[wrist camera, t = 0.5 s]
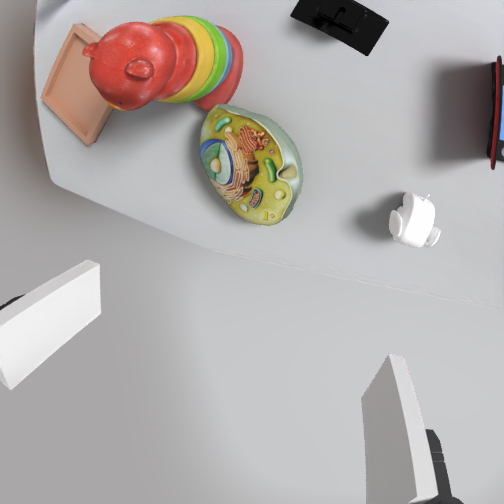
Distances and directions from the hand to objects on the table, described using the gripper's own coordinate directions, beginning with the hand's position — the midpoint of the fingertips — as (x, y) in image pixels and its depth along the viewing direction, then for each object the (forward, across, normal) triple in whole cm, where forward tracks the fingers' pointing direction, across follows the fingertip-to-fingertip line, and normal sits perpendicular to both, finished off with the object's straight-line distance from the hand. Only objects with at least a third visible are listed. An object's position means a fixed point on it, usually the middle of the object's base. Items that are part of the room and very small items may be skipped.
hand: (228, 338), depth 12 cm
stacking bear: (+23, -13, +16) cm, 31 cm away
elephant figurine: (+27, +15, +5) cm, 31 cm away
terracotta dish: (+23, -32, +14) cm, 42 cm away
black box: (+22, +1, +24) cm, 33 cm away
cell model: (+27, -6, +6) cm, 28 cm away
